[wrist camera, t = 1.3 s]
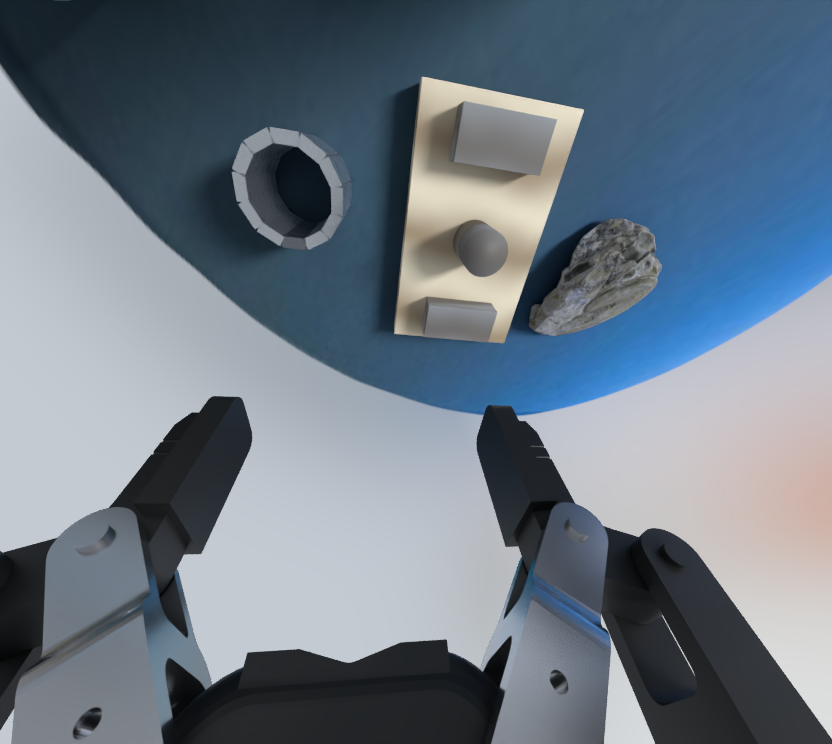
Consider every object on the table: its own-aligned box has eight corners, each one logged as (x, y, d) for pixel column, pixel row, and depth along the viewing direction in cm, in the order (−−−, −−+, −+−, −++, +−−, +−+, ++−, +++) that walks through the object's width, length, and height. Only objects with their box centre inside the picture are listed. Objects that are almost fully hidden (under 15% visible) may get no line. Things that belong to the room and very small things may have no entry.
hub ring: (260, 127, 21) (222, 118, 16) (352, 142, 22) (342, 139, 17) (272, 225, 25) (243, 242, 20) (351, 235, 26) (342, 254, 21)
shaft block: (419, 82, 21) (429, 60, 16) (569, 112, 22) (621, 101, 17) (394, 324, 31) (395, 356, 26) (498, 333, 32) (517, 365, 27)
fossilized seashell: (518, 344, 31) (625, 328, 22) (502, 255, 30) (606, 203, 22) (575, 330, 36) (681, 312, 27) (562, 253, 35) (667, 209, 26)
